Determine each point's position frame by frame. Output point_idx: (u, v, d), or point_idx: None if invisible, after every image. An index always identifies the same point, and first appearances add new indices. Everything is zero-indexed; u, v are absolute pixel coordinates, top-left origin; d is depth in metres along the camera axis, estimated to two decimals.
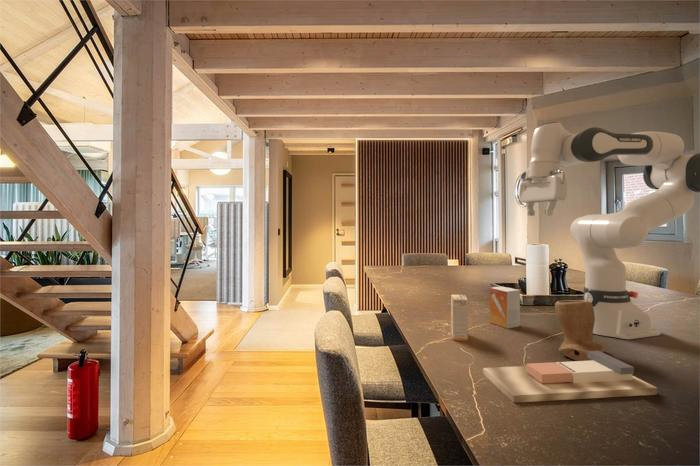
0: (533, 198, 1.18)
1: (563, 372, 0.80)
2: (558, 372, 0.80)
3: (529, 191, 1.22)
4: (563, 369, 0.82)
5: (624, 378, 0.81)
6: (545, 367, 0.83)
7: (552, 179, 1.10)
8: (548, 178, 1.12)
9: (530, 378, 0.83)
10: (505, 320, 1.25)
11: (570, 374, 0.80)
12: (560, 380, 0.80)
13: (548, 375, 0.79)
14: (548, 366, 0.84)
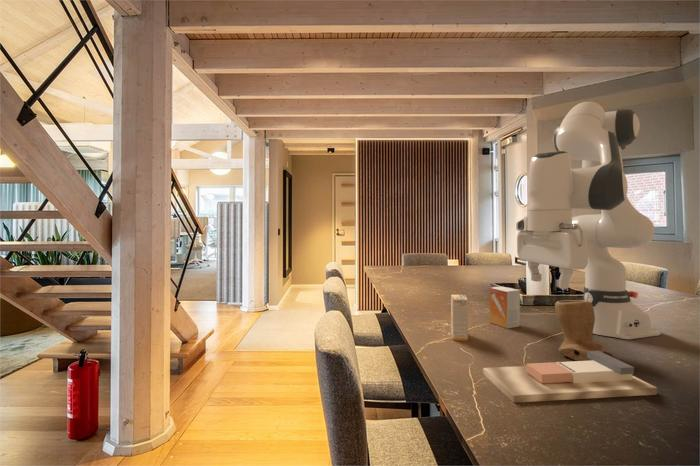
0: (538, 260, 0.83)
1: (563, 372, 0.80)
2: (558, 372, 0.80)
3: (530, 248, 0.86)
4: (563, 369, 0.82)
5: (624, 378, 0.81)
6: (545, 367, 0.83)
7: (564, 238, 0.74)
8: (558, 235, 0.76)
9: (530, 378, 0.83)
10: (505, 320, 1.25)
11: (570, 374, 0.80)
12: (560, 380, 0.80)
13: (548, 375, 0.79)
14: (548, 366, 0.84)
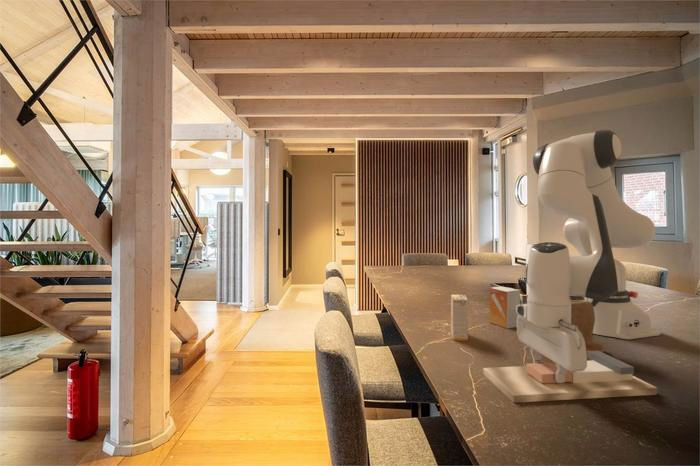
0: (538, 349, 0.83)
1: None
2: None
3: (530, 334, 0.86)
4: None
5: (624, 378, 0.81)
6: (545, 367, 0.83)
7: (563, 339, 0.75)
8: (557, 333, 0.76)
9: (530, 378, 0.83)
10: (505, 320, 1.25)
11: (570, 374, 0.80)
12: None
13: (548, 375, 0.79)
14: (548, 366, 0.84)
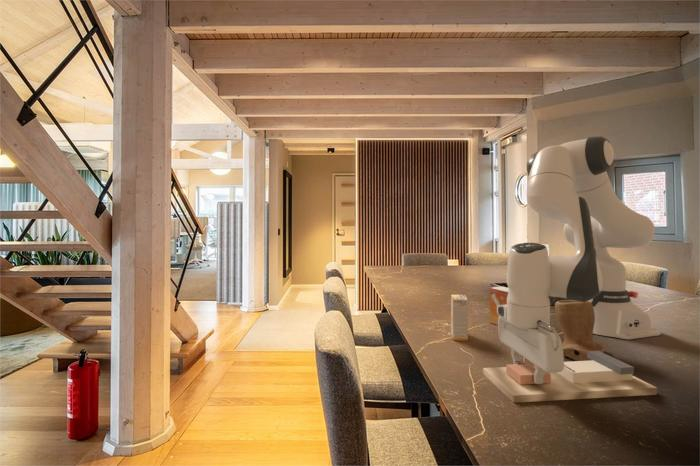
0: (517, 350, 0.83)
1: None
2: None
3: (510, 335, 0.86)
4: None
5: (624, 378, 0.81)
6: (525, 368, 0.83)
7: (540, 340, 0.74)
8: (535, 334, 0.76)
9: None
10: None
11: (549, 375, 0.80)
12: None
13: (526, 376, 0.79)
14: (528, 367, 0.83)
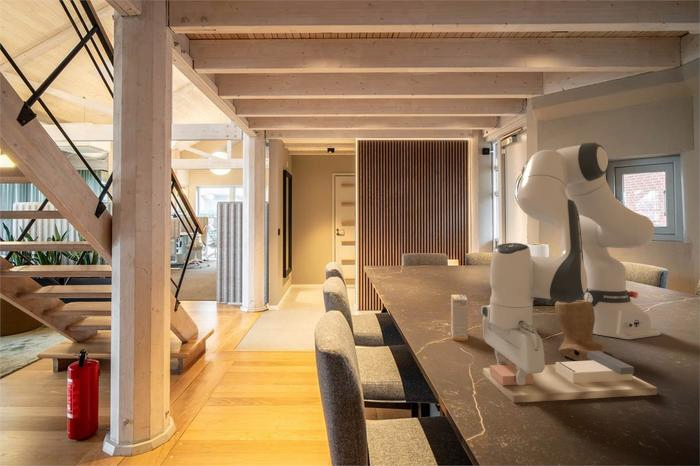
0: (500, 351, 0.83)
1: None
2: None
3: (494, 335, 0.86)
4: None
5: (624, 378, 0.81)
6: (508, 369, 0.82)
7: (521, 340, 0.74)
8: (516, 335, 0.76)
9: None
10: None
11: (531, 376, 0.79)
12: None
13: (509, 377, 0.79)
14: (511, 368, 0.83)
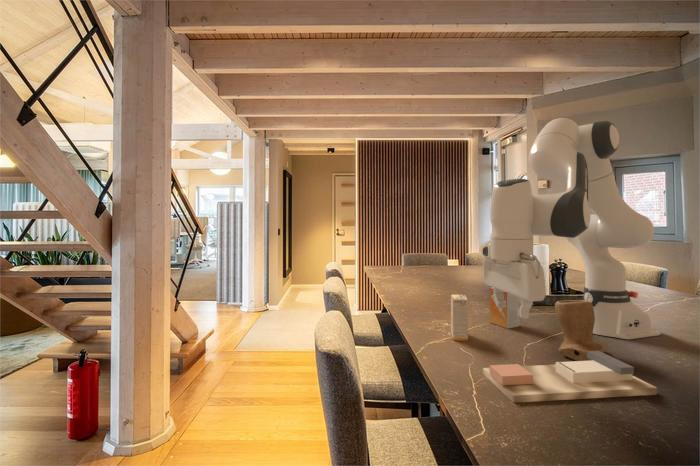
0: (501, 287, 0.82)
1: (524, 374, 0.79)
2: (519, 374, 0.80)
3: (494, 274, 0.85)
4: (525, 371, 0.81)
5: (624, 378, 0.81)
6: (508, 369, 0.82)
7: (522, 269, 0.74)
8: (517, 266, 0.75)
9: None
10: (505, 320, 1.25)
11: (531, 376, 0.79)
12: (521, 382, 0.79)
13: (509, 377, 0.79)
14: (511, 368, 0.83)
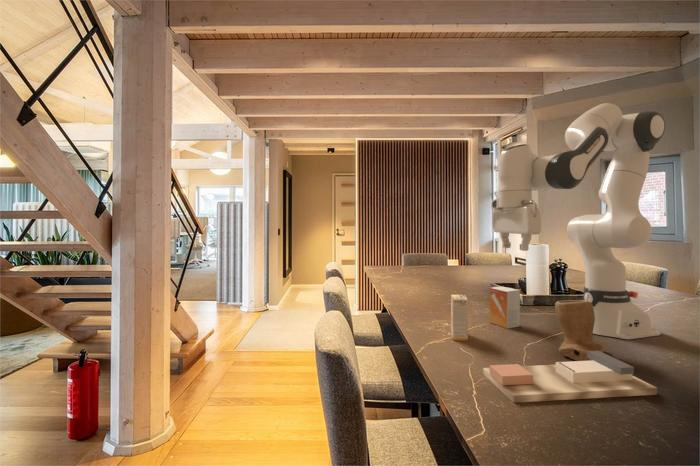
0: (507, 230, 1.06)
1: (524, 374, 0.79)
2: (519, 374, 0.80)
3: (501, 221, 1.09)
4: (525, 371, 0.81)
5: (624, 378, 0.81)
6: (508, 369, 0.82)
7: (523, 211, 0.97)
8: (519, 209, 0.99)
9: None
10: (505, 320, 1.25)
11: (531, 376, 0.79)
12: (521, 382, 0.79)
13: (509, 377, 0.79)
14: (511, 368, 0.83)
